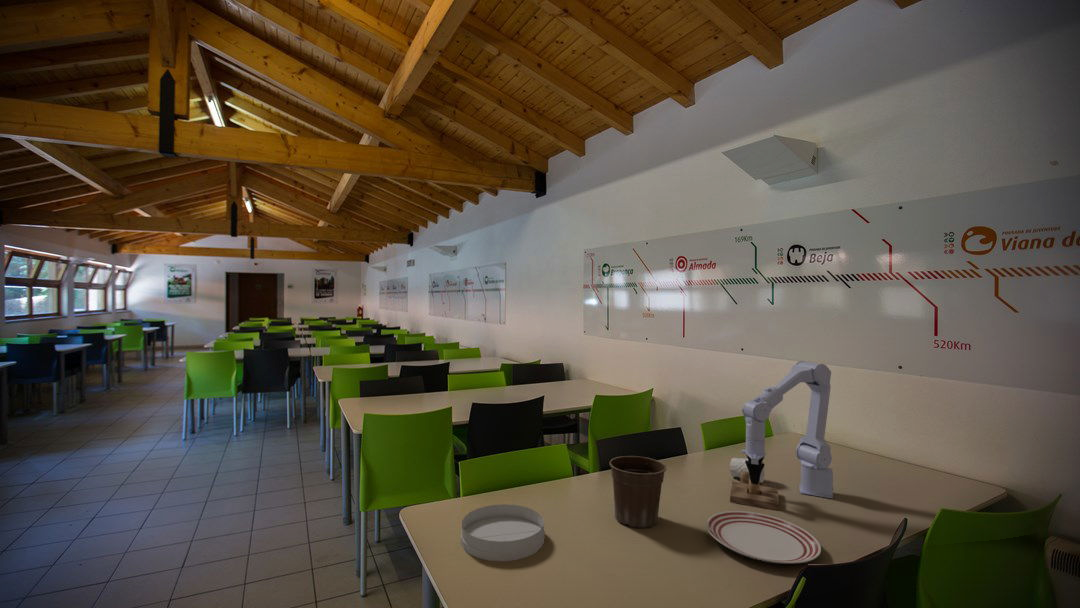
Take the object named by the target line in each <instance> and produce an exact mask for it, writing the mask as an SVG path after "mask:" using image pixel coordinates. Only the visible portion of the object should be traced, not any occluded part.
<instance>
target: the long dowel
mask: <svg viewBox="0 0 1080 608" xmlns="http://www.w3.org/2000/svg"><path fill="white" fill-rule="evenodd" d="M760 486H761V483H760V480H759V484H758V485H757V484H751V481H750V475H749V494H755V495H760Z"/></svg>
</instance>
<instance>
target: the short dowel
mask: <svg viewBox="0 0 1080 608" xmlns="http://www.w3.org/2000/svg"><path fill="white" fill-rule="evenodd" d="M740 483H746V484H749V472H741V479H740Z"/></svg>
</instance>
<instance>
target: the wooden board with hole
mask: <svg viewBox="0 0 1080 608" xmlns="http://www.w3.org/2000/svg"><path fill="white" fill-rule="evenodd" d="M778 490H779V489H778V488H777V487H773V486H772V487H770V486H764V485H760V495H755V494H749V484H746V483H741V481H740V482H738V481H732V483H731V489H730V493H729V502H730V503H735V504H738V505H739V504H741V505H746V506H753V507H757V508H764V509H769V510H775V511H780V502H779V501H780V500H779V491H778Z"/></svg>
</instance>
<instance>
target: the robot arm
mask: <svg viewBox="0 0 1080 608" xmlns="http://www.w3.org/2000/svg"><path fill="white" fill-rule="evenodd" d="M831 378H832V371H831V370H830V368H829V367H828V365H826V364H824V363H817V362H816V363H815V362H809V361H804V360H799V361H797V362H796V363H795V364H793V365H792V366H791V370H790V371H789V373H787V374H786V375H785V376H784V377H783V378H782V379H781V380H780V381H779V382H778V383H777V384H776V385H775V386H769V387H765V388H764V389H763V392H761V393H760V394H758V396H755V397H754V399H753V400H748V401H746V402H745V403H744V404H743V407H742V408H741V412H742V414H743V416H744V421H745V449H741V453H742V454H745V455H746V459H748V460H749V461H748V460H745V463H746V466H747V468H748V471H749V475H750V481H751V484H757V485H758V484H759V480H760V475H761V471H762V469H763V468H764V469H765V463H764V459H765V457H766V420H768V419H769V417H770V413H771V412H772V411H773V409H774V408H775V407H776V406H778V405H779V404H780V403H781V402H783V400H784V395H785V394H787V393H788V392H789V391H790V390H792V389H794V388H795V387H796V386H797V385H799V384H800V383H804V384H806V385H807V387H808V388H809V389H810V390H811V392H810V399H809V400H810V401H809V408H808V417H807V425H806V432H805V435H804V436H802V437H800V438H799V443H798V445H797V446H796V449H795V455H796V457H797V459H798V460H799V464H801V465H800V484H798V489H799V492H800V494H802V495H808V496H816V497H822V498H828V499H834V493H833V492H834V475H833V474H834V472H833V468H832V467H829V466H830V465H831V463H832V457H833V456H832V454H831V445H830V444H829V443H828V441H826V440H825V437H826V436H825V435H826V430H827V429H826V427H827V420H828V411H829V404H830V397H831V395H830V394H831V388H832V387H831ZM762 461H763V463H764V464H763V463H762Z"/></svg>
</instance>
